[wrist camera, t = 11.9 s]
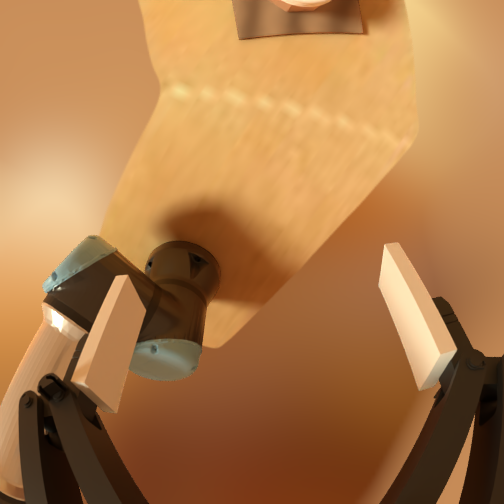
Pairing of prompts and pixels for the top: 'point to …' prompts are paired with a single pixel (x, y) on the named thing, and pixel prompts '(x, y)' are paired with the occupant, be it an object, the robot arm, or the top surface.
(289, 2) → the cream flat cylinder
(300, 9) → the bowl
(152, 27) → the top surface
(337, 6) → the board
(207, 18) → the top surface
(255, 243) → the top surface
